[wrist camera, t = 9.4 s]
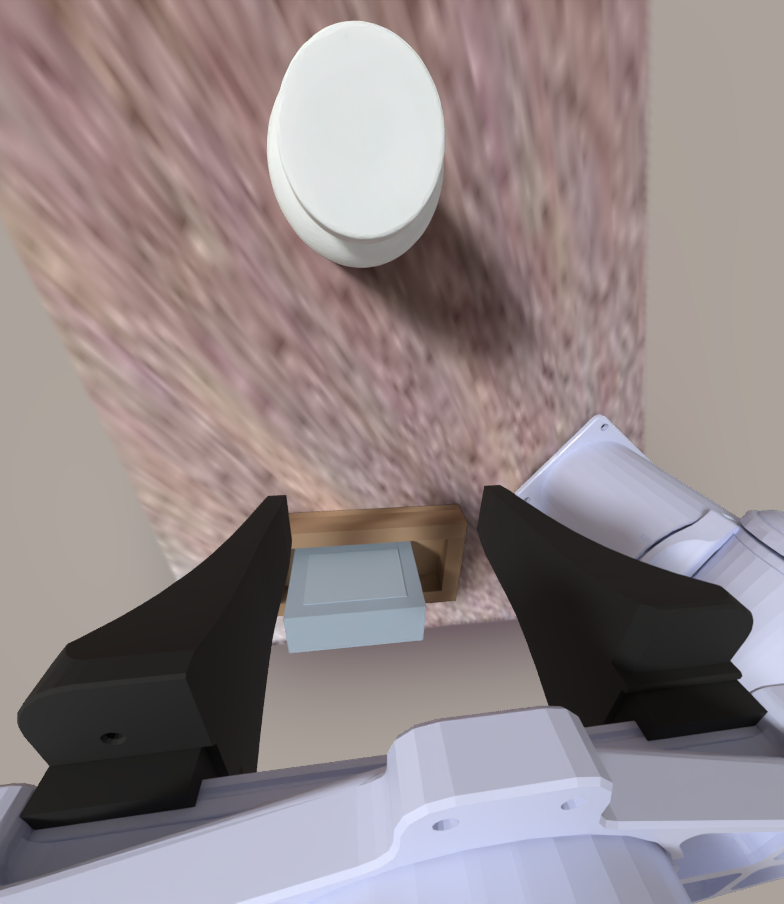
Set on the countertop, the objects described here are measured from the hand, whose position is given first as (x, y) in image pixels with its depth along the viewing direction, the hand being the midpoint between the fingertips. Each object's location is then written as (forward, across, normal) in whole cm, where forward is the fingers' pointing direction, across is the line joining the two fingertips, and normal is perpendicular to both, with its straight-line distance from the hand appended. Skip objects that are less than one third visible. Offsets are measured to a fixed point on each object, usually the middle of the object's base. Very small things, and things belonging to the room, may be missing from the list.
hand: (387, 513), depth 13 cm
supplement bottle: (+10, +1, -11) cm, 15 cm away
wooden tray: (+10, +1, +11) cm, 15 cm away
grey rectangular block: (+9, +1, +11) cm, 14 cm away
